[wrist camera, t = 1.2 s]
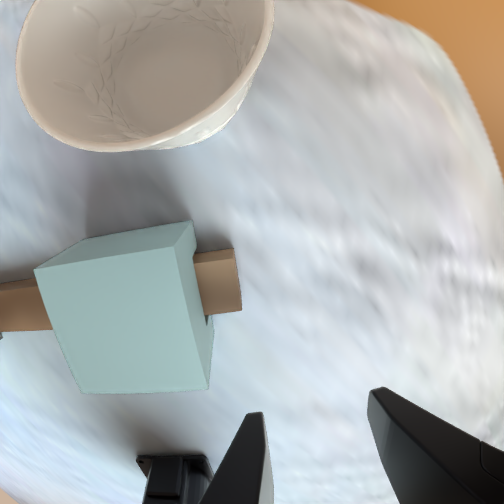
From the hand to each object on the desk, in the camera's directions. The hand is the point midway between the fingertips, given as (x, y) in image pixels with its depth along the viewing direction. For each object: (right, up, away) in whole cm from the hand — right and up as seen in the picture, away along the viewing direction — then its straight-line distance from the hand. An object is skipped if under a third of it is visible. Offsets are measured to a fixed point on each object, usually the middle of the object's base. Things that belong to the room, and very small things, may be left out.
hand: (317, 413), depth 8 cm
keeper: (-8, +2, +11) cm, 14 cm away
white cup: (-6, +13, +9) cm, 17 cm away
